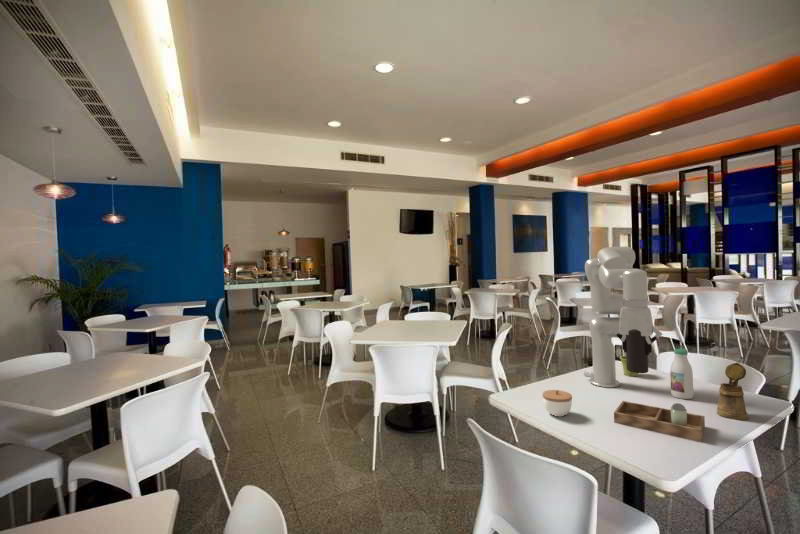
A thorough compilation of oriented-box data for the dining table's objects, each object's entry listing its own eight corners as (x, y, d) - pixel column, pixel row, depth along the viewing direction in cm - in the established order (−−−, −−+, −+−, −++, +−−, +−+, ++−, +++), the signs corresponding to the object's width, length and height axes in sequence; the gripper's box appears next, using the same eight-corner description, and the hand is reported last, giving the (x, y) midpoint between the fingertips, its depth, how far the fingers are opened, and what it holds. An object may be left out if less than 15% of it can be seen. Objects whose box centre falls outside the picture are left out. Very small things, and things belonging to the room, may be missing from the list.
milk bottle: (685, 393, 168) (684, 347, 167) (697, 399, 160) (696, 351, 159) (667, 393, 168) (665, 347, 168) (678, 399, 161) (676, 352, 160)
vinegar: (638, 367, 144) (636, 314, 144) (653, 372, 138) (651, 316, 137) (622, 369, 143) (620, 315, 143) (636, 374, 137) (634, 318, 136)
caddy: (614, 424, 140) (613, 412, 140) (623, 412, 150) (622, 400, 150) (701, 444, 123) (701, 430, 123) (704, 428, 134) (704, 416, 134)
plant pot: (618, 375, 194) (617, 358, 194) (622, 371, 202) (621, 354, 201) (640, 379, 188) (639, 361, 188) (643, 374, 196) (642, 357, 195)
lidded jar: (538, 409, 156) (537, 386, 156) (563, 407, 157) (563, 384, 157) (551, 420, 146) (550, 395, 146) (578, 418, 147) (577, 393, 146)
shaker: (670, 429, 133) (669, 404, 133) (672, 425, 136) (671, 400, 136) (686, 432, 130) (685, 407, 130) (687, 428, 133) (687, 403, 133)
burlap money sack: (754, 412, 146) (752, 364, 145) (744, 422, 138) (743, 372, 137) (724, 405, 153) (722, 360, 152) (713, 415, 145) (712, 367, 144)
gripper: (606, 304, 143) (607, 352, 143) (662, 306, 132) (663, 358, 132) (611, 301, 149) (613, 348, 149) (665, 303, 137) (667, 354, 137)
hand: (636, 352), depth 140 cm, fingers closed on vinegar, 6 cm apart
